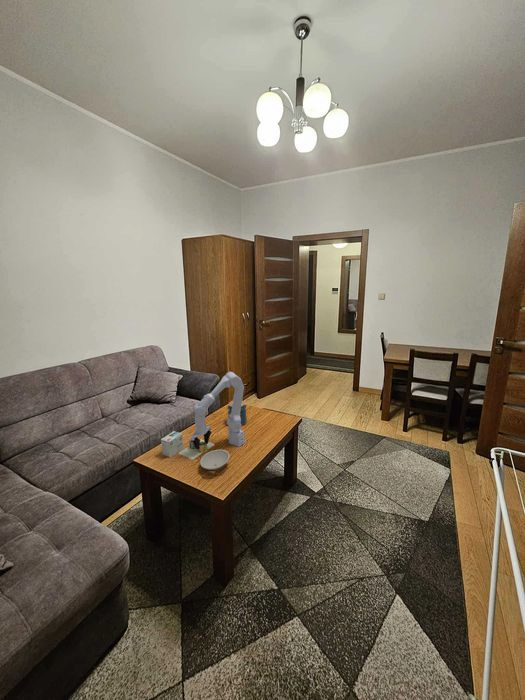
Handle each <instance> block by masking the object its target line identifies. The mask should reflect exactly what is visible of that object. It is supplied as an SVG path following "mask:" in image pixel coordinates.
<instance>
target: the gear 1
mask: <svg viewBox="0 0 525 700" xmlns="http://www.w3.org/2000/svg"><path fill="white" fill-rule="evenodd" d="M188 446H189V448H191V449H196V447H195V445H194V443H193V442H192V440H191V439H190V440H188Z"/></svg>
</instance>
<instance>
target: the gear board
mask: <svg viewBox="0 0 525 700" xmlns="http://www.w3.org/2000/svg"><path fill="white" fill-rule="evenodd" d="M201 441H203V442H205V441H204V439H201V438H200V442H201ZM192 442H193V441H192ZM202 445H204V443H200V446H202ZM214 446H215V443H212V442H209V441H208V444H207V451H208V450H209V449H211V448H212V447H214ZM207 451H204V452H198V451H197V449H191V448H189V445H188V446H187V447H185V448H183V449H181V450H180V451H179V452H177V454H178V455H180V456H182V457H185V458H188V459H190V460H194V459H196V458H197V457H199V456H200V455H202V454H203V453H206V452H207Z"/></svg>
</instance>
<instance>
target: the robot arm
mask: <svg viewBox="0 0 525 700" xmlns="http://www.w3.org/2000/svg"><path fill="white" fill-rule="evenodd" d="M242 380H243V379H241V377H240V376H238V375H237V374H235V372H233V371H228V372H226V373H225V375H224V376H222V377H221V379H220V381H219V382H218V384H217V385H216V386H215V387H214V388H213V390H212V391H211V392H210V393H206V394H204V395H203V397H202V399H201V400H200V401H198V402H197V403H196V404H195V405H194V406H193V408H192V411H193V412H194V424H195V430H194V433H193V434H192V435H191V436H190V440H192V441H193V443H194V445H195V447H196V449H198V450H199V443H200V439H201V438H200V439H199V437H201V436H203V440H204V441H205V442H206V443H207V444H208V442H209V440H210V437H211V435H212V426H211V425H208V426H207V425H206V423H207V422H206V413H207V410H208V409H209V407H210V406H211V405H212V404H214V402H215V401H216V399H215V398H216V397H217V396H218V395H219V394H220V393H221V392H222V391H223V390H224V389H225V388H226V389H227V388H231V387H233V388H234V392H233V399H232V400H233V404H232V411H231V414H230V415H229V418H228V417H227V419H226V424H227V425H228V429H227V431H228V432H227V433H228V444H229V445H232V446H235V447H237V448H240V447H242V446H243V445H244V444H245V443H246V436H245V435H246V434H245V432H244V431H243V430H242V426H243V425H242V426H241V418H240V411H241V404H242V401H243V397H244V391H245V385H244V383H243V381H242Z"/></svg>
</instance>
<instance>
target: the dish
mask: <svg viewBox="0 0 525 700" xmlns="http://www.w3.org/2000/svg"><path fill="white" fill-rule="evenodd" d="M229 459H230V453H229V451H228V450H224V449H215V450H211V451H209V452H208V451H207V453H205V454H204V455H203V456H202V457H201V459H200V460H199V461H200V463H199V464H200V466H201V468H203V469H205V470H208V471H216V470H219V469H221V468H222V467H223V466H224V465H225V464H227V463H228V462H229Z"/></svg>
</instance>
